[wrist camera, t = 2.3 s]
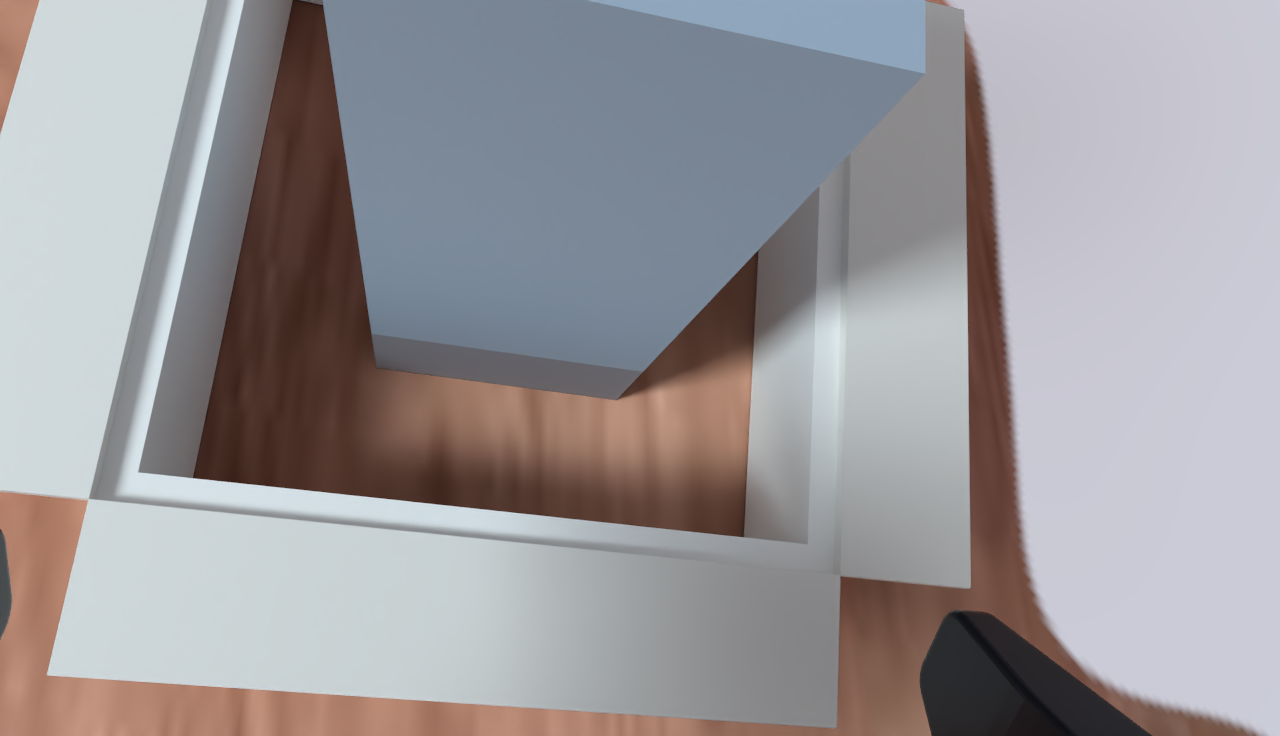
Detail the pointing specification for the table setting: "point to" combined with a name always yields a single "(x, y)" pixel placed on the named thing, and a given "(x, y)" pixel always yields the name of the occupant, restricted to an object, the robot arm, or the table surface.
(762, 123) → the box
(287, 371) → the table surface
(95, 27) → the carton
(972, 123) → the table surface
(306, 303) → the table surface
